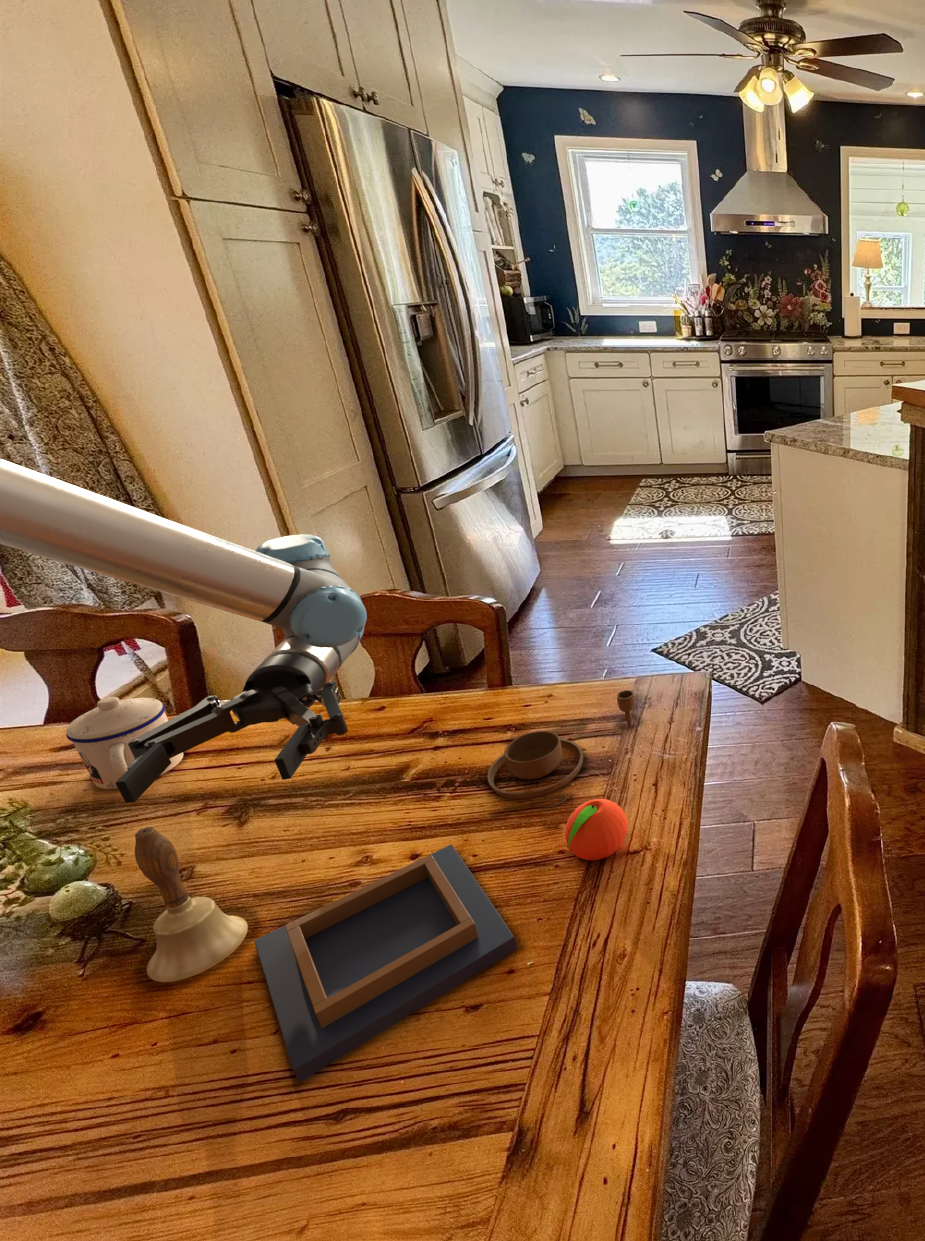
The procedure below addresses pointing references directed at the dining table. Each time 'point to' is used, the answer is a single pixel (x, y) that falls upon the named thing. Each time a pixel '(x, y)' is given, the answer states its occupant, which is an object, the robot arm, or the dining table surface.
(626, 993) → the dining table surface
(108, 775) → the teacup with lid
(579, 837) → the clementine
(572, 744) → the place setting
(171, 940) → the hand bell
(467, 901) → the bell stand
